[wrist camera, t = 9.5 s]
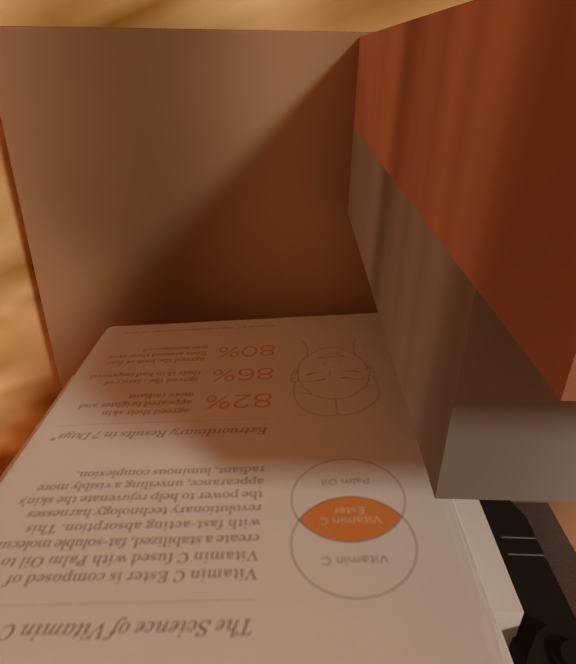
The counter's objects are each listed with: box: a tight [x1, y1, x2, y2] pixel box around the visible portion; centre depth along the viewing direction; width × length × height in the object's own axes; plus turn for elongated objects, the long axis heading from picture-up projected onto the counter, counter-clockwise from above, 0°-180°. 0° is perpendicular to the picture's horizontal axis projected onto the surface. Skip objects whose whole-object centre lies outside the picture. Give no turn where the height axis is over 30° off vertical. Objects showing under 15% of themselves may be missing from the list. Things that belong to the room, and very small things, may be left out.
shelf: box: [0, 0, 576, 546], centre depth 11 cm, size 20×17×13 cm
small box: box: [0, 312, 514, 664], centre depth 11 cm, size 8×6×10 cm
